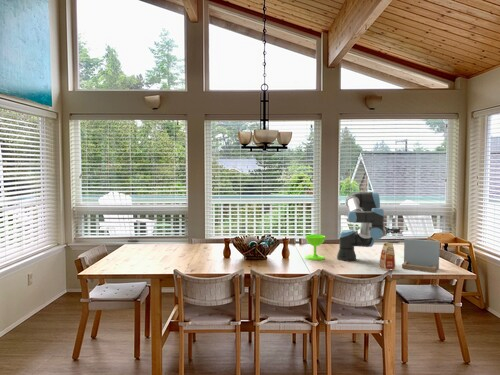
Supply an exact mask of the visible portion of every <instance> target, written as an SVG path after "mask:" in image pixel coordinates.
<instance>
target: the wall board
mask: <svg viewBox="0 0 500 375" xmlns="http://www.w3.org/2000/svg"><path fill="white" fill-rule="evenodd" d="M403 240H404V243H403V246H404V247H403V263H402V264H401V269H402V268H404V270H410V269H411V271H418V270H420V271H419V272H426V271H427V273H436V272H437V271H438V270H439V269H440V247H441V243H440V240H439V241H438V240H437V241H436V240H429V239H426V240H425V239H415V238H404V239H403Z"/></svg>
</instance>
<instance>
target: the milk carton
mask: <svg viewBox="0 0 500 375" xmlns="http://www.w3.org/2000/svg"><path fill="white" fill-rule="evenodd" d="M394 247H395V246H394V242H388V241H384V243H383V246H382V249H381V252H380V257H379V263H378V264H379V265H378V268H379V269H381V270H383V271H395V270H396V257H395V256H396V254H395V248H394ZM390 269H392V270H390Z"/></svg>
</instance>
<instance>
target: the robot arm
mask: <svg viewBox="0 0 500 375" xmlns="http://www.w3.org/2000/svg"><path fill="white" fill-rule="evenodd" d="M345 206H346V207H347V208H348V212H347V221H348V222H349V223H353V224H354V223H355V224H356V223H357V224H360V227H359V229H358V230H357V231H355V230H354V229H345V230H341V231H340V232H339V244H338V246H339V249H338V252H337V255H336V259H338V260H339V261H345V262H347V261H349V262H350V261H351V262H352V261H353V262H354V261H356V260H357V255H356V252H355V247H359V248H360V247H361V248H362V247H363V248H372V247H373V246H374V244H375V240H381V239H382V238H383V237H385V236H386V235H387V234H400V232H401V229H400V228H398V227H395V228H389V227H386V226H384V223H385V222H384V221H385V213H384V212H385V210H384V208H381V200H380V194H379V192H378V191H377V192H376V191H375V192H374V191H372V192H371V191H355V192H352V193H350V194H349V195H348V196H347V197H346V198H345Z"/></svg>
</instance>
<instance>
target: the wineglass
mask: <svg viewBox="0 0 500 375" xmlns="http://www.w3.org/2000/svg"><path fill="white" fill-rule="evenodd" d="M305 240H306V242H307V243H308V244H309V245H310V246H312V247H313V254H308V255H306V256H305V257H304V259H306V260H311V261H324V260H325V257H324V256H322V255H319V254H317V247H319V246H321V245H322V244H323V243H324V242H325V240H326V236H325V235H321V234H307V235H305Z"/></svg>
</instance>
